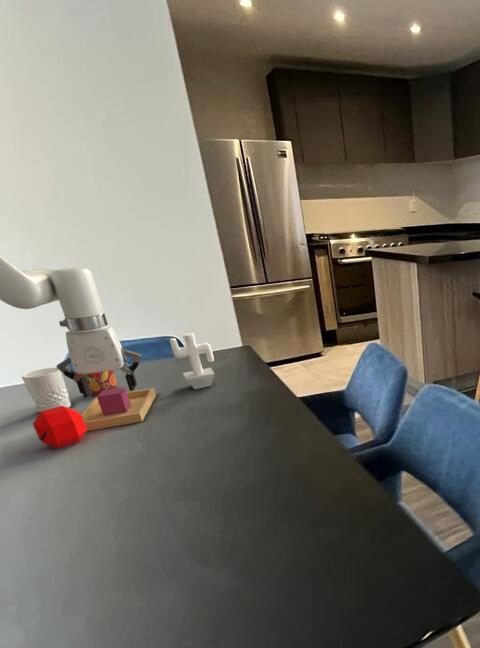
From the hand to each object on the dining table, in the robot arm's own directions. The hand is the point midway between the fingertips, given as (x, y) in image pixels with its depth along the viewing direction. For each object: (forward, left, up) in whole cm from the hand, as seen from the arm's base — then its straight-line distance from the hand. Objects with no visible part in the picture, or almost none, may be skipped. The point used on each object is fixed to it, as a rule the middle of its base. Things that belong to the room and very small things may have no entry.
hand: (110, 392), depth 120 cm
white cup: (-17, +12, -6) cm, 21 cm away
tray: (0, 0, -6) cm, 6 cm away
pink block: (0, 0, -5) cm, 5 cm away
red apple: (-7, -15, -6) cm, 17 cm away
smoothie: (-8, +21, -6) cm, 23 cm away
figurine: (+18, +12, -6) cm, 23 cm away
